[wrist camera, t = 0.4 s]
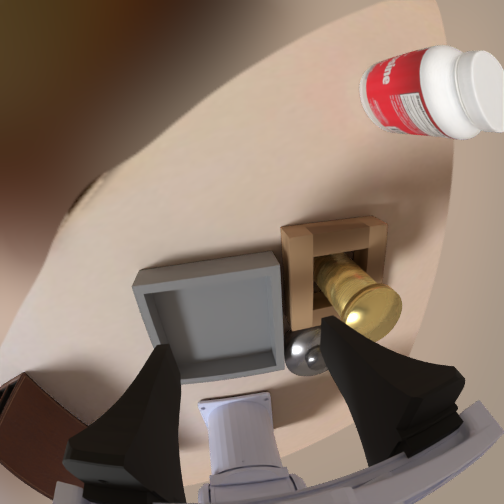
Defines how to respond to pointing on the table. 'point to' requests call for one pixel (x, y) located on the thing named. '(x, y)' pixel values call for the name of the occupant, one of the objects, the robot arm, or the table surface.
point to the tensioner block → (324, 243)
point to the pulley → (304, 352)
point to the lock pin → (357, 295)
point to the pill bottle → (436, 93)
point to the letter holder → (35, 435)
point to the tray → (216, 315)
